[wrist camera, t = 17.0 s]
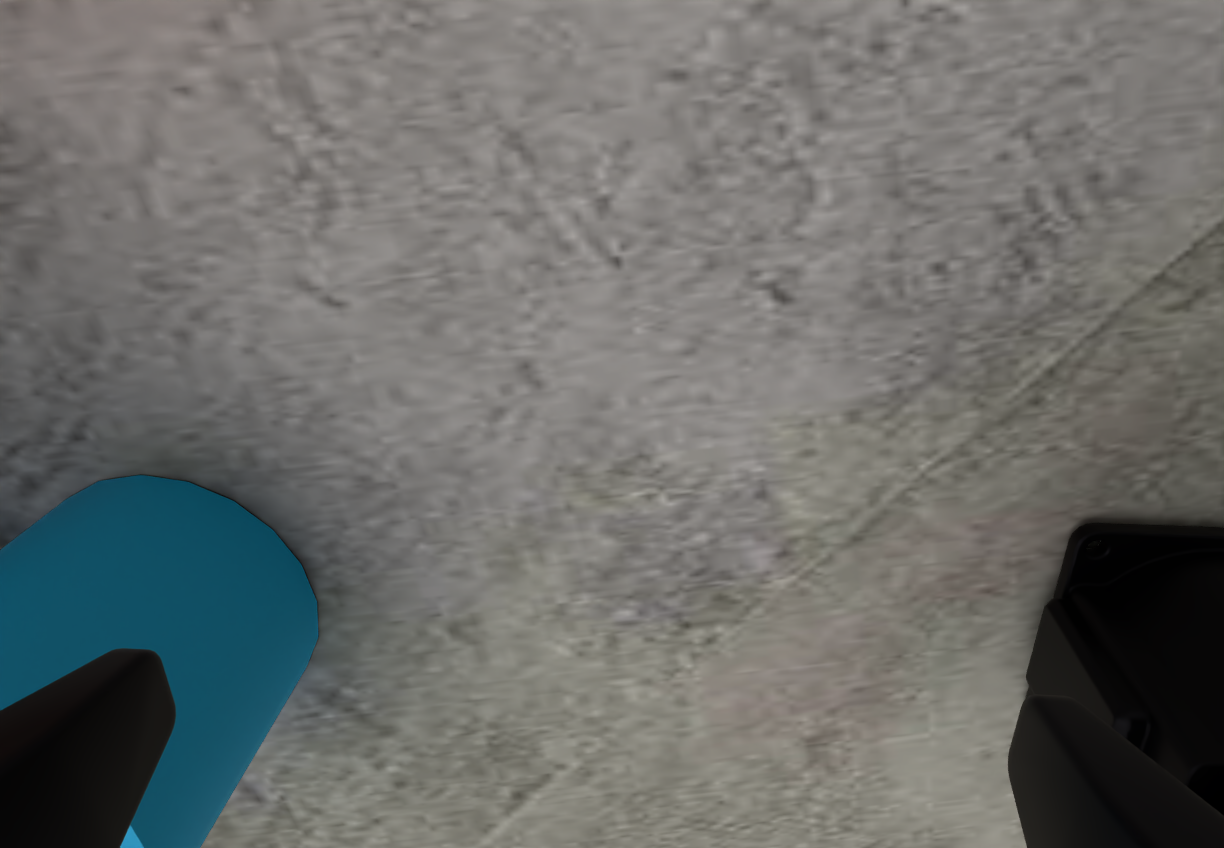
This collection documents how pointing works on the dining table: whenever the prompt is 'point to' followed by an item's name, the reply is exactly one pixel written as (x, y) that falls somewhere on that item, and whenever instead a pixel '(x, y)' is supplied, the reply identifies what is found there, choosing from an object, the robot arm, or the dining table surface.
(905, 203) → the dining table surface
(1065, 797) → the robot arm
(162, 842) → the mug
